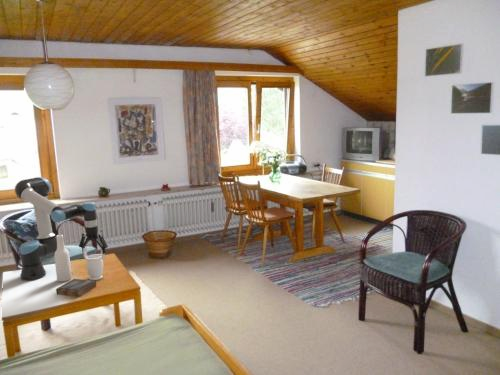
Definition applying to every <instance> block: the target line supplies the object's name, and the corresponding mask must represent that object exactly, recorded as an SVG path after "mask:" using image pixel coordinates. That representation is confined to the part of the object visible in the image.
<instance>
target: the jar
mask: <svg viewBox="0 0 500 375" xmlns="http://www.w3.org/2000/svg"><path fill="white" fill-rule="evenodd" d="M85 260H86V261H85V268H86V271H87V274H88V276H89V277H88V280H90V281H98V280H101V279H103V272H104V261H103V260H104V259H102V257H101V253H94V254H93V253H92V254H89V255H88V254H87V256H86V258H85Z"/></svg>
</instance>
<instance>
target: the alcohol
mask: <svg viewBox="0 0 500 375" xmlns="http://www.w3.org/2000/svg"><path fill="white" fill-rule="evenodd" d="M55 236H56V237H57V250H56V251H55V253H54V254H53V255H54V264H55V273H56V280H57V282H59V283H63V282H64V283H65V282H69V281H71V280H72V279H73V278H72V277H73V276H72V270H71V268H72V267H71V259H70V252H69V250H68V249H67V248H66V246H65V240H64V235H63V234H57V235H55Z"/></svg>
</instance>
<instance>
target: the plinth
mask: <svg viewBox="0 0 500 375" xmlns="http://www.w3.org/2000/svg"><path fill="white" fill-rule="evenodd" d="M96 281H97V280H90V279H78V278H72V279H70V280H69V281H67V282H66V283H64V284H62V285H60V286H58V287H57V288H55V291H56V295H58V296H68V297H74V298H80V297H82V296H84V295H85V294H87V293H88V292H90V291H91V290H93V289H94V288H95V289H96V287H97V282H96Z"/></svg>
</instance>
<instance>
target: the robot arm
mask: <svg viewBox="0 0 500 375" xmlns="http://www.w3.org/2000/svg"><path fill="white" fill-rule="evenodd" d="M51 186H52V185H51V183H50V181H49V180H48V179H47V178H45V177H42V176H39V177H38V176H36V177H32V178H28V179H27V178H26V179H22V180H20V181H18V182H17V183H16V184H15V187H14V193H15V195H16V197H17V198H19V199H20V200H21V201H23V202H28V203H29V204H31V205H33V209H34V217H35V222H36V225H37V231H38V232H37V233H38V236H37V237H36V239H32V240H28V241H26V242H24V243H22V244H21V245H20V250H19V253H20V258H21V272H20V280H22V281H34V280H39V279H41V278H43V277H46V274H47V273H46V272H47V271H46V269H45V268H44V265H43V264H42V259H44V258H46V257H48V256H52V255H54V254H55V251H56V250H57V237H56V236H57V235H56V234H55V233H54V232H53V229H52V222H51V220H52V221H53V222H54V223H61V222H62V223H63V222H64V221H67V220H71V219H74V218H78V217H79V218H80V217H81V218H83V222H84V230H85V232H83V233H81V238H80V242H79V244H78V247H79V248H81V249H82V250H81V252H82V253H83V259H86V256H88V250H87V249H88V248H87V244H89V242H91V241H94V242H95V243H96V244H97V245H98V246H99V248H100V254H101V257H102V260H104V259H106V253H107V252H106V249H107V248H108V247H109V246H108V244H107V242H106V240H105V238H104V236H103V233H98V231H99V230H98V229H99V228H98V220H97V209H96V204H95V202H94V201H87V202H86V201H85V202H83V203H82V204H70V205H69V206H68V207H61V205H58V204H57V203H55V202H53V201H51V200H50V199H48V197H49V193H50V192H51V190H52V187H51Z"/></svg>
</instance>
